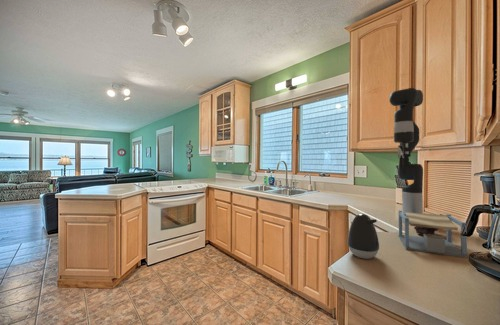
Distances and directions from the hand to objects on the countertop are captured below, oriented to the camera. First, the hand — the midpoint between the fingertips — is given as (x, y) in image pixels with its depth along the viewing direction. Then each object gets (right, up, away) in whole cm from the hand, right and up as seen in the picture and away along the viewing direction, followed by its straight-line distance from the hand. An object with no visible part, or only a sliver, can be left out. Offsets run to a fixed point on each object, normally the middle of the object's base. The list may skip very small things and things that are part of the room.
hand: (404, 166), depth 100 cm
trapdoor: (+1, -25, -12) cm, 28 cm away
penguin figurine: (-31, -32, -23) cm, 50 cm away
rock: (+12, -32, +2) cm, 35 cm away
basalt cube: (-2, -29, -17) cm, 33 cm away
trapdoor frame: (0, -32, -13) cm, 35 cm away
